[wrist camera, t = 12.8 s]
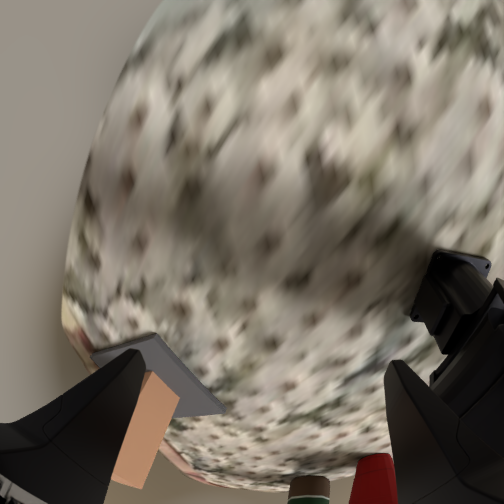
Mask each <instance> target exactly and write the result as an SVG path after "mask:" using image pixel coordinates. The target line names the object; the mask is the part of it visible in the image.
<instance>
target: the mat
mask: <svg viewBox="0 0 504 504" xmlns="http://www.w3.org/2000/svg"><path fill="white" fill-rule="evenodd" d="M129 348H134V349H139V350H140V351H141V353H142V356H143V358H144V361H145V363H146V371H145V372H151V371H153V372H154V373H155V374H156V375H157V376H158V377H159V378H160V379H161V380H162V381H163V382H164V383H165V384H166V385H167V386H168V387H169V388H170V389H171V390H172V391H173V392H174V393H175V394H176V395H177V396H178V397H179V398H180V399H179V401H178V404H177V406H176V408H175V411H174V413H173V416H172V418H177V417H193V416H205V415H215V414H224V413H225V412H226V409H227V408H226V407H225V406H224V405H223V404H222V403H221V402H220V401H219V400H218V399H217V398H216V397H215V396H214V395H213V394H212V393H211V392H210V391H209V390H208V389H207V388H206V387H205V386H204V385H203V384H202V383H201V382H200V381H199V380H198V379H197V378H196V377H195V376H194V375H193V374H192V373H191V372H190V371H189V369H188V368H187V367H186V366H185V365H184V364H183V363H182V362H181V361H180V360H179V359H178V357H177V356H176V355H175V354H174V353H173V352H172V351H171V349H170V348H169V347H168V346H167V345H166V344H165V342H164V341H163V340H162V339H161V338H160V337H159V335H158V334H157V333H156V334H153V335H150V336H147V337H144V338H141V339H137V340H134V341H131V342H128V343H125V344H122V345H118V346H115V347H112V348H108V349H105V350H102V351H98V352H95V353H93V354H92V355H91V356H90V358H91V359H92V360H93V361H94V362H95V363H96V364H97V366H98V367H99V368H101V367H103V366H104V365H106V364H107V363H108V362H110V361H111V360H113V359H114V358H116V357H117V356H118V355H120V354H121V353H123V352H124V351H126V350H127V349H129Z"/></svg>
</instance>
